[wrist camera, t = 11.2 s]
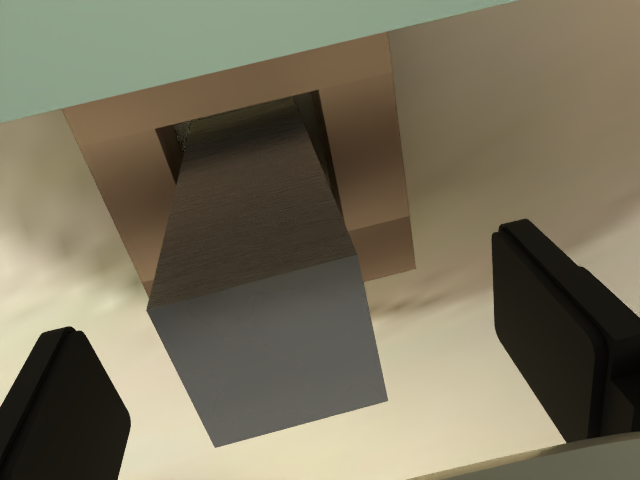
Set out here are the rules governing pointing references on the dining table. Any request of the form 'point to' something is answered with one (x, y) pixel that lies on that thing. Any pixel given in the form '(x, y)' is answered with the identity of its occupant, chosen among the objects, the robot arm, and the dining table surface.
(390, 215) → the socket block
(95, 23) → the green topped stand
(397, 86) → the dining table surface
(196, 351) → the peg
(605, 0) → the dining table surface
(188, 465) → the dining table surface
